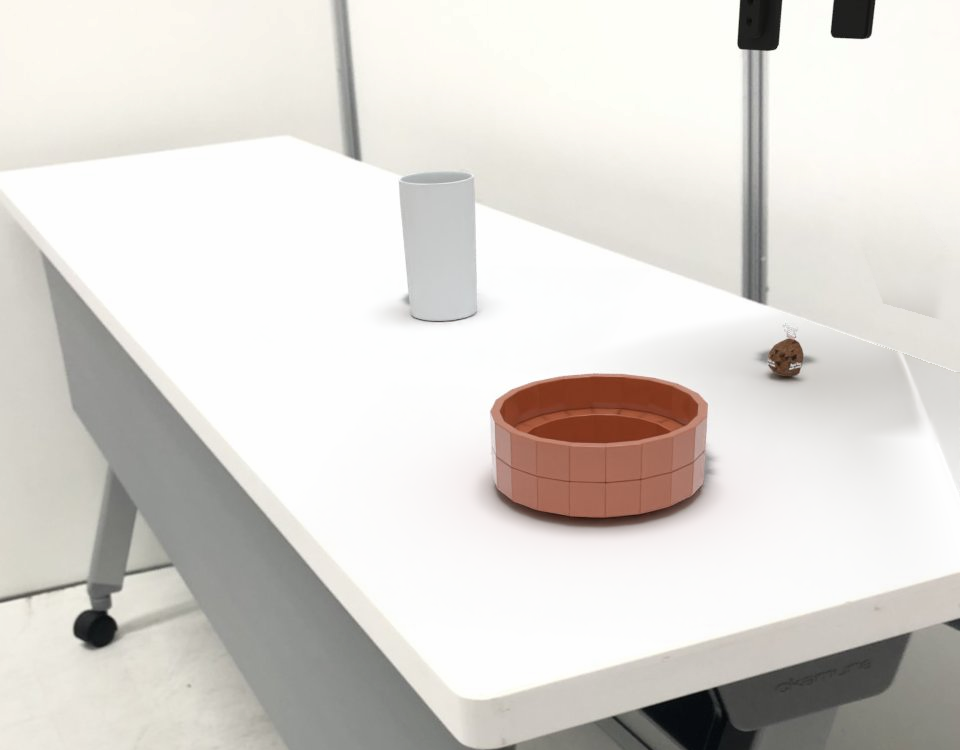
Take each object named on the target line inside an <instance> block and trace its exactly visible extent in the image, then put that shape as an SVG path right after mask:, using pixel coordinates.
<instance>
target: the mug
mask: <svg viewBox="0 0 960 750" xmlns="http://www.w3.org/2000/svg"><path fill="white" fill-rule="evenodd" d="M398 189H399V190H398V191H399V205H400V214H401V215H400V217H401V228H402V237H403V247H404V259H405V270H406V281H407V282H406V283H407V291H408V300H409V311H410V315H411V316H412V317H414V318H416V319H419V320H422V321H429V322H446V321H455V320H456V321H457V320H461V319H465V318H468V317H471V316H473V315H474V314H476V313H477V311H478V298H477V297H478V296H477V295H478V293H477V290H478V287H477V284H478V278H477V274H478V273H477V233H476V227H477V226H476V193H475V175H474V174H473V173H471V172H467V171H461V170H432V171H422V172H414V173H410V174H405V175H402V176H400V177H399V178H398Z"/></svg>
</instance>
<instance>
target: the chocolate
mask: <svg viewBox="0 0 960 750" xmlns="http://www.w3.org/2000/svg"><path fill="white" fill-rule="evenodd" d="M782 328H784V330H783V332H784V333H786V338H785V339H783V340H781V341H779V342H777V343H775V345H773V347H772V348H771V349H770V351H769V353H768V356H767V359H766V360H767V362H766V364H767V366H768V367H769V369H770V370H771V372H772V373H774V374H776V375H778V376H781V377H795V376H798V375H799V374H800V373H801V369H802V366H803V362H804V358H805V353H804V349H803V347H802V345H801V344H800V342H799V341H798V340H796V338H797V333H799V327H798V326H796V328H795V327H793V326H791V324H789V325H787V323H786V322H785V323H782Z"/></svg>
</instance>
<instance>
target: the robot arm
mask: <svg viewBox="0 0 960 750" xmlns="http://www.w3.org/2000/svg"><path fill="white" fill-rule="evenodd" d="M875 9H876V0H833V3H832V12H831V13H832V14H831V24H830V35H831V37H832V38H834V39H846V40H847V39H848V40H849V39H852V40H867V39H869V38H871V37H872V34H873V26H874V19H875V18H874V16H875ZM782 11H783V0H739V10H738V23H737V25H738V26H737V39H736V41H737V42H736V44H737V47H738V49H739V50H741V51H742V50H745V51H760V52H761V51H763V52H770V51H776V50H777V49H778V47H779V45H780V37H781V36H780V35H781V23H782Z"/></svg>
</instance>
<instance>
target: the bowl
mask: <svg viewBox="0 0 960 750" xmlns="http://www.w3.org/2000/svg"><path fill="white" fill-rule="evenodd" d="M708 411H709V404H708V402H707V401H706V400H705V399H704V398H703V397H702V396H701V394H699V392H696V391H694V390H692V389H691V388H688V387H686V386H684V385H682V384H679V383H677V382H673V381H669V380H665V379H661V378H657V377H652V376H645V375H644V376H643V375H635V374H626V373H598V372H597V373H595V372H594V373H584V374H571V375H570V374H569V375H560V376H554V377H551V378H550V377H549V378H545V379H539V380H536V381H535V380H534V381H530V382H529V383H526V384H522V385H519V386H517V387H514V388H512V389H510V390H508V391H506V392H505V393H503V394H502V395H501V396H499V397H498V398H496V399H495V400H494V403H493V405H492V406H491V408H490V410H489V418H490V419H489V420H490V421H489V422H490V440H491V441H490V444H491V468H492V469H491V470H492V479H493V481H494V485H495V486H496V489H497V490H498V491H499V492H501V493H502V494H503V495H504V496H505V497H507V498H508V499H510V500H511V501H512V502H514V503H516V504H519V505H522V506H524V507H526V508H530V509H532V510H535V511H539V512H545V513H550V514H556V515H561V516H567V517H576V518H588V519H591V518H592V519H595V518H597V519H605V518H618V517H627V516H633V515H642V514H646V513H650V512H654V511H658V510H662V509H665V508H669V507H672V506H674V505H676V504H678V503H680V502H682V501H685V500H686V499H689V498H690V497H692V496H693V495H694V494H695V493H696V492H697V491H698V490H699V489H700V488H701V487H702V486H703V484H704V481H705V468H706V467H705V465H706V451H707V430H708V413H709V412H708Z"/></svg>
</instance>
